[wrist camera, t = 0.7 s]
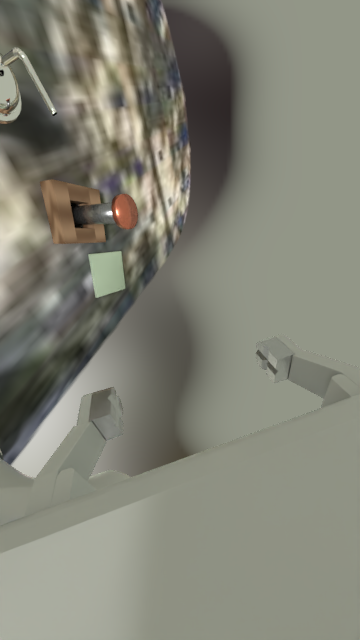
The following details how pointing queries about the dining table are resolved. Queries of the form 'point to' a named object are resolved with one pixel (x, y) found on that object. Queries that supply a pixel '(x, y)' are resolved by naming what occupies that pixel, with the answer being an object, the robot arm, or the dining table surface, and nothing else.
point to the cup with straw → (16, 87)
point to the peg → (108, 213)
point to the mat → (107, 272)
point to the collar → (70, 212)
